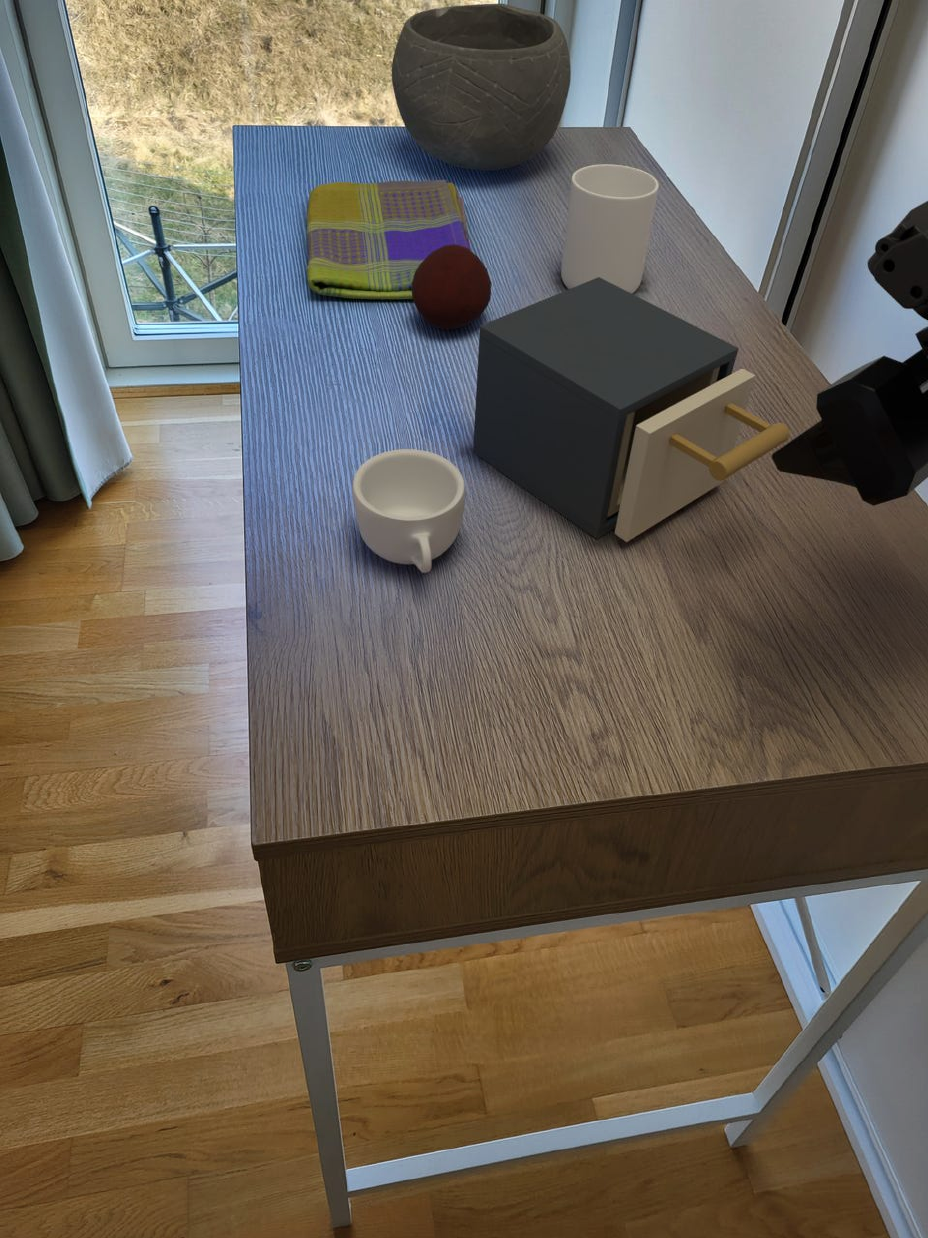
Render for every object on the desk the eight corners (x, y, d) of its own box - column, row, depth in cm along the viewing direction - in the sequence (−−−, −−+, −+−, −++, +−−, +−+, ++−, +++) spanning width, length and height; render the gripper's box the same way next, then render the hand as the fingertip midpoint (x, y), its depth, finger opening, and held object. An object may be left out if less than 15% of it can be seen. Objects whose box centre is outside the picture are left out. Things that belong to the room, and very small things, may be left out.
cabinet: (704, 474, 75) (739, 347, 67) (596, 539, 69) (620, 409, 61) (580, 398, 82) (598, 276, 74) (472, 452, 76) (479, 325, 68)
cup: (543, 281, 97) (554, 179, 90) (610, 245, 104) (625, 147, 96) (610, 309, 93) (626, 205, 86) (675, 270, 100) (695, 170, 93)
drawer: (777, 512, 71) (815, 405, 64) (679, 579, 65) (710, 469, 59) (605, 409, 80) (623, 305, 73) (507, 460, 74) (516, 353, 67)
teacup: (347, 515, 70) (343, 455, 66) (448, 502, 72) (450, 443, 68) (370, 609, 63) (368, 549, 59) (481, 593, 65) (486, 533, 61)
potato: (399, 337, 88) (398, 265, 83) (426, 296, 94) (427, 226, 89) (475, 351, 87) (479, 278, 82) (498, 308, 93) (503, 238, 88)
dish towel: (300, 302, 92) (297, 275, 90) (309, 199, 109) (308, 174, 107) (479, 302, 93) (481, 275, 91) (461, 201, 110) (462, 176, 108)
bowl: (467, 212, 109) (473, 68, 98) (359, 151, 119) (353, 15, 108) (595, 168, 119) (614, 32, 108) (485, 115, 129) (491, -14, 118)
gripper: (1098, 114, 47) (838, 264, 61) (921, 212, 38) (660, 365, 51) (1188, 315, 49) (914, 419, 62) (1038, 458, 39) (753, 545, 53)
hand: (818, 431), depth 57 cm, fingers open, 9 cm apart
